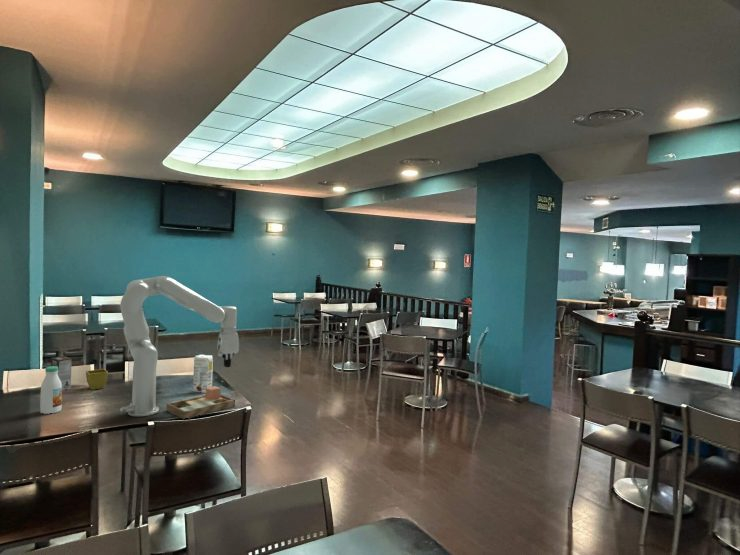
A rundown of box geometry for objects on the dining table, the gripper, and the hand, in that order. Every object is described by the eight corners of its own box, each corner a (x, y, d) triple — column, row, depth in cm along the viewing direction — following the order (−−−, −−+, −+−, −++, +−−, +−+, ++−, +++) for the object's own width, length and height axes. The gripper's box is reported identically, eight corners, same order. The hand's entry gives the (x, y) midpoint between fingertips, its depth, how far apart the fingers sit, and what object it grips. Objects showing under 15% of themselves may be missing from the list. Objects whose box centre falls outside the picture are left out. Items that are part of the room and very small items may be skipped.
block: (211, 400, 214) (211, 390, 214) (205, 398, 218) (205, 388, 217) (220, 398, 218) (220, 388, 218) (214, 395, 221) (214, 386, 221)
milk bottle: (44, 415, 192) (45, 370, 191) (37, 411, 196) (37, 367, 195) (64, 411, 199) (65, 367, 198) (56, 407, 203) (57, 364, 202)
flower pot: (85, 387, 234) (85, 370, 234) (104, 384, 240) (104, 368, 240) (88, 391, 228) (88, 374, 228) (107, 388, 234) (108, 371, 233)
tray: (183, 419, 194) (184, 412, 194) (166, 410, 205) (166, 403, 204) (235, 406, 215) (235, 399, 215) (216, 398, 225) (216, 392, 225)
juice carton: (205, 393, 232) (206, 357, 232) (191, 392, 234) (192, 356, 234) (213, 389, 240) (214, 355, 239) (199, 388, 242) (200, 353, 241)
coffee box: (49, 388, 231) (50, 357, 230) (63, 385, 236) (64, 355, 235) (57, 391, 226) (58, 360, 225) (71, 388, 231) (72, 358, 231)
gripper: (219, 333, 215) (218, 370, 215) (245, 330, 226) (244, 365, 227) (210, 331, 219) (209, 367, 220) (236, 328, 231) (235, 363, 232)
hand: (227, 366), depth 223 cm, fingers closed
